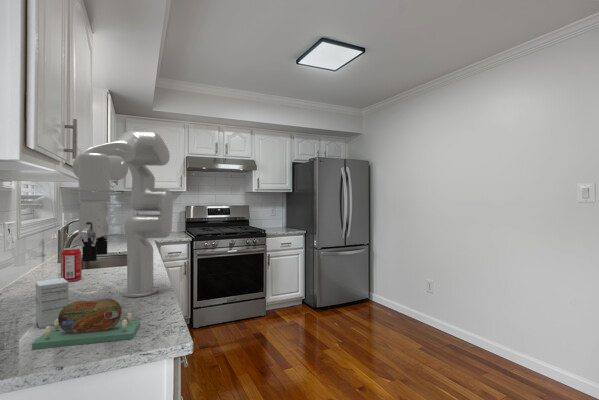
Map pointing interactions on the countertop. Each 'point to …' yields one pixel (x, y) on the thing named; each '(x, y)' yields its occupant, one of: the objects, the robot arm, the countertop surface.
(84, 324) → the tin
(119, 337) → the green peg board
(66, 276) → the soda can
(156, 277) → the countertop surface
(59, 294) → the supplement box
